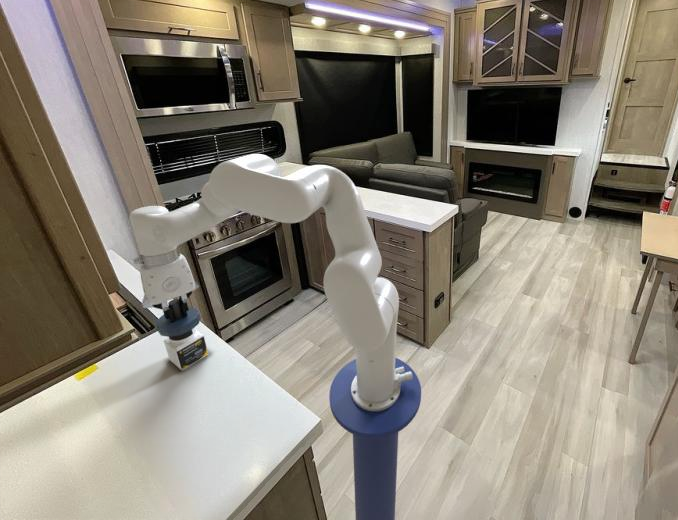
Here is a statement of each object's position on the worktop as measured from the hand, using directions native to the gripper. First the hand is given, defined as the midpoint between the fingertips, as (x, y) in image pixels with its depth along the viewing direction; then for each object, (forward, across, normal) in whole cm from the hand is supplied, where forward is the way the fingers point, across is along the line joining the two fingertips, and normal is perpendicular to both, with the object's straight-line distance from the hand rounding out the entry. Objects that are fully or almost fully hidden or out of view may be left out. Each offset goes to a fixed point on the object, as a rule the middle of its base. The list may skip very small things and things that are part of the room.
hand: (177, 316), depth 85 cm
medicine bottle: (+15, 0, 0) cm, 15 cm away
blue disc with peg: (+3, 0, 0) cm, 3 cm away
